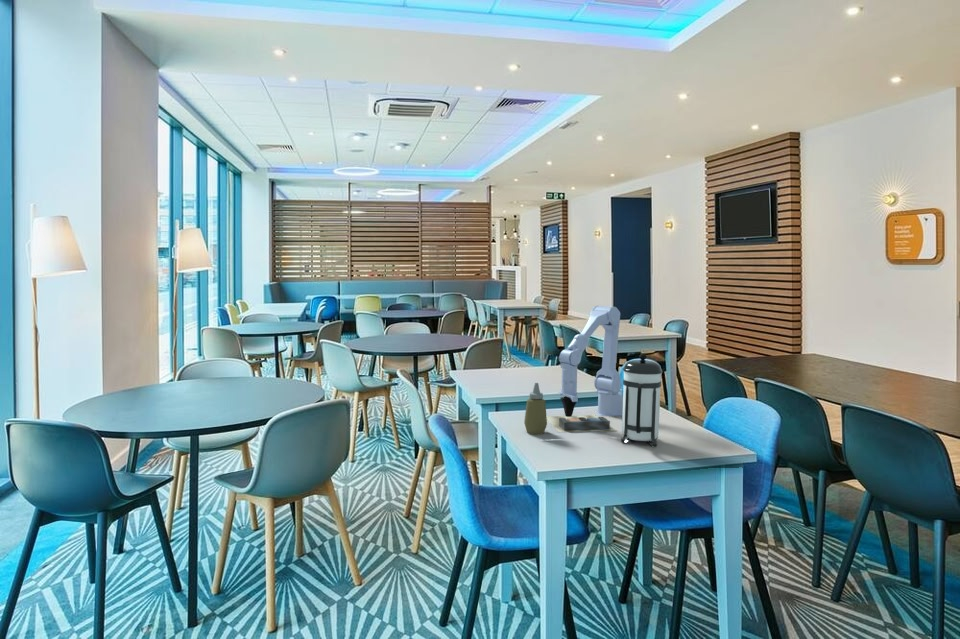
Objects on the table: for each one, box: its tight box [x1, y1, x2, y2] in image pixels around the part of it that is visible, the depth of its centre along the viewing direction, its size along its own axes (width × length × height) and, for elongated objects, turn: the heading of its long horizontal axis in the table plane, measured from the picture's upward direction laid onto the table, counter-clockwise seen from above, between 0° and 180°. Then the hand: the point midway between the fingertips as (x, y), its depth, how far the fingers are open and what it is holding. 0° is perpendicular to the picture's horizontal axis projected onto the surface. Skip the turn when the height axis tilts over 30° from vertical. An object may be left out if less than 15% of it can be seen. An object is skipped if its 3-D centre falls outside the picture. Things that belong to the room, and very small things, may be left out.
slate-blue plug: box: [587, 418, 600, 421], centre depth 206 cm, size 4×4×3 cm
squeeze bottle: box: [524, 382, 548, 435], centre depth 198 cm, size 8×8×18 cm
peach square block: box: [567, 418, 581, 421], centre depth 205 cm, size 4×4×3 cm
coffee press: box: [620, 353, 663, 447], centre depth 189 cm, size 17×16×30 cm
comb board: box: [546, 414, 618, 433], centre depth 211 cm, size 22×22×4 cm
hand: (568, 416), depth 214 cm, fingers closed
